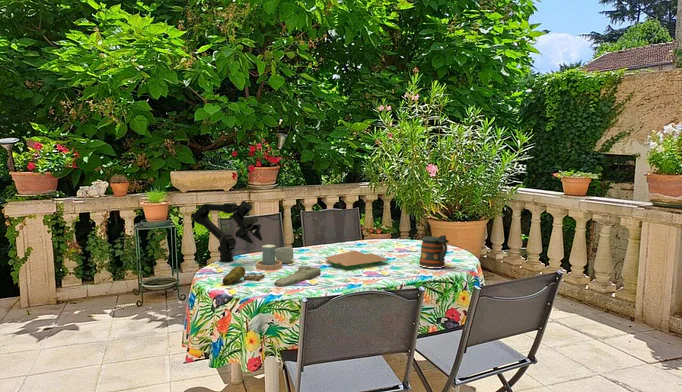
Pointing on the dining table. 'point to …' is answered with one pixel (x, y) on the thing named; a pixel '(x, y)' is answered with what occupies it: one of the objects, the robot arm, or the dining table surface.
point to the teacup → (284, 254)
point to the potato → (234, 275)
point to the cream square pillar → (268, 254)
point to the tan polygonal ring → (270, 267)
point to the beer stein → (433, 251)
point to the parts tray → (254, 278)
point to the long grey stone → (298, 276)
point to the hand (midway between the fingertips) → (257, 241)
